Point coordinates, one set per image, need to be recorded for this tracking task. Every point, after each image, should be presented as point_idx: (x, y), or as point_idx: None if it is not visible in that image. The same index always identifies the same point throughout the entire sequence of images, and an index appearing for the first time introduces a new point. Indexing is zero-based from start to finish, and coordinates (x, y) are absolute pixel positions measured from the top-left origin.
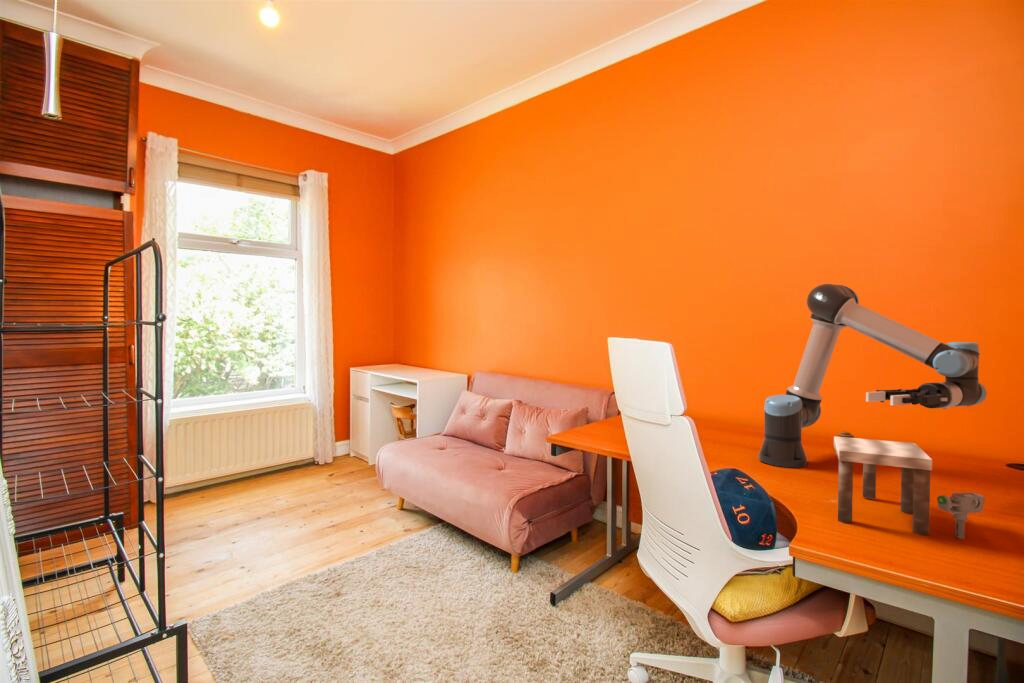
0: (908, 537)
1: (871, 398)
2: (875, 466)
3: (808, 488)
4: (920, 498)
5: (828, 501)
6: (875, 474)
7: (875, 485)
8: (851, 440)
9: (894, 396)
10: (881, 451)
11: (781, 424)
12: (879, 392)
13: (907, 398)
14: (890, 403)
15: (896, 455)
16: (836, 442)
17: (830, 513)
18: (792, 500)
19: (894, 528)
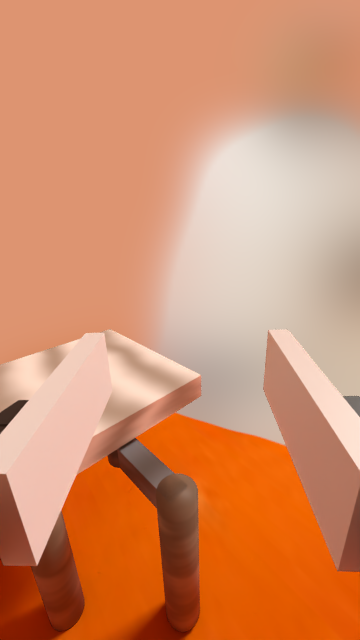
0: None
1: (273, 387)
2: (160, 545)
3: (286, 515)
4: None
5: (197, 484)
6: (162, 565)
7: (164, 590)
8: (148, 375)
9: (82, 343)
10: (58, 359)
11: None
12: (312, 402)
13: (4, 411)
14: (110, 381)
15: (27, 358)
16: (150, 350)
17: (150, 443)
18: (217, 435)
19: None
